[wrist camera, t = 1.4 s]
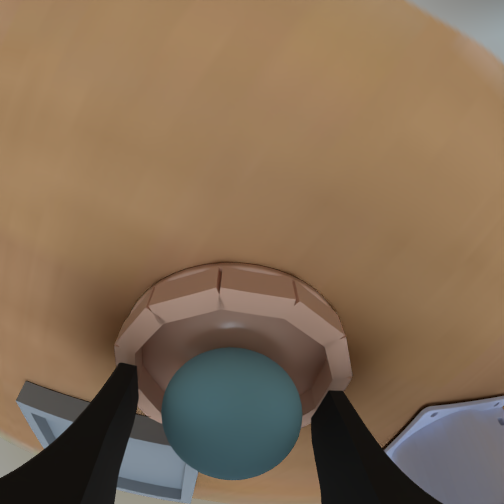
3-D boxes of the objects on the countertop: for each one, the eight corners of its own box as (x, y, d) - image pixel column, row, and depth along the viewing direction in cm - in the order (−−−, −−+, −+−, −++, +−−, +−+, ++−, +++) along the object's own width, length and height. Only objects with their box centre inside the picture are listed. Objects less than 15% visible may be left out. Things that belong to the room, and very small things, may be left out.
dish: (376, 285, 12) (392, 311, 10) (302, 421, 16) (306, 446, 14) (124, 241, 10) (108, 265, 9) (130, 399, 15) (123, 424, 13)
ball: (310, 328, 12) (336, 443, 8) (275, 404, 14) (284, 498, 10) (176, 308, 11) (148, 427, 7) (169, 390, 14) (153, 487, 9)
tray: (205, 426, 16) (203, 450, 14) (191, 487, 21) (190, 503, 19) (25, 381, 14) (15, 400, 13) (64, 457, 20) (60, 471, 18)
